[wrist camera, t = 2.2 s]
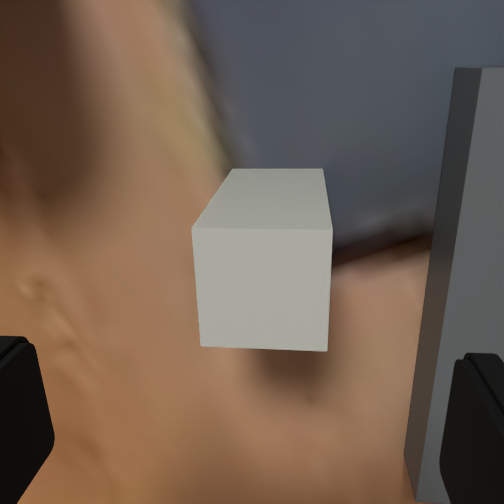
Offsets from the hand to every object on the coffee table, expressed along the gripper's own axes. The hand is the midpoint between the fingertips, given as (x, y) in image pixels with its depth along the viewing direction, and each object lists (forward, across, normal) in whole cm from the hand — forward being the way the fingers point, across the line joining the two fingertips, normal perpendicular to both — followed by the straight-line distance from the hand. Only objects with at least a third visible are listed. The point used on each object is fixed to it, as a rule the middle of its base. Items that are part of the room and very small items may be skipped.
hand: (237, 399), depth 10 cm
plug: (+12, 0, -1) cm, 12 cm away
